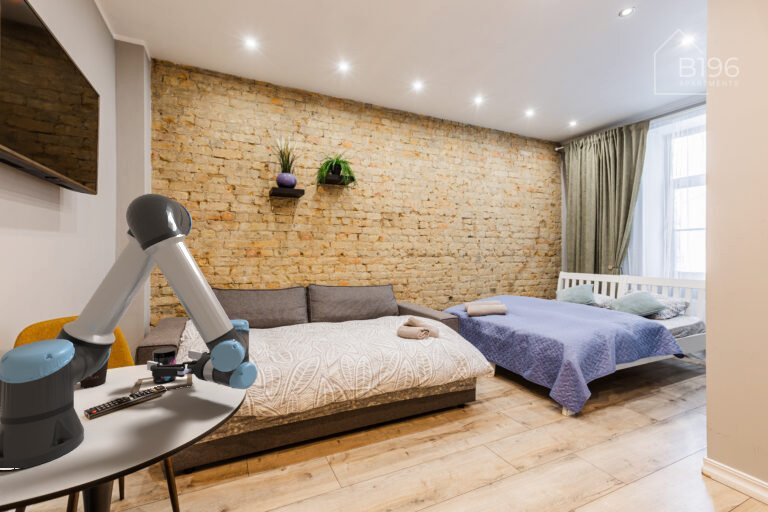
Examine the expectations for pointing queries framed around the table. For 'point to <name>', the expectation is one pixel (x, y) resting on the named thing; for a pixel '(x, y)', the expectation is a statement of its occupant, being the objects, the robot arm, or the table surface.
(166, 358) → the supplement container
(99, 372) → the coffee mug
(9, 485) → the table surface
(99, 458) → the table surface
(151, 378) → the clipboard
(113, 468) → the table surface
